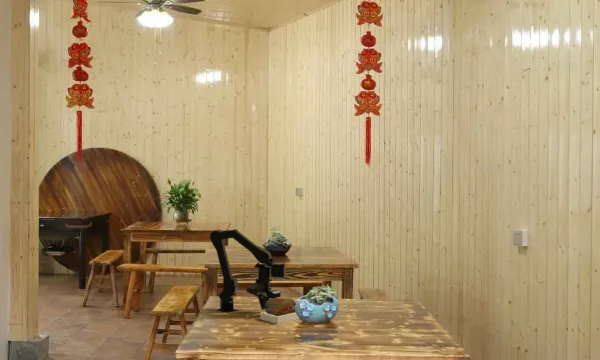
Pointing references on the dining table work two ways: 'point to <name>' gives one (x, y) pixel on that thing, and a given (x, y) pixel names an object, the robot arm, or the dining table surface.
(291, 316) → the shelf slot
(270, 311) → the tin
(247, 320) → the dining table surface
